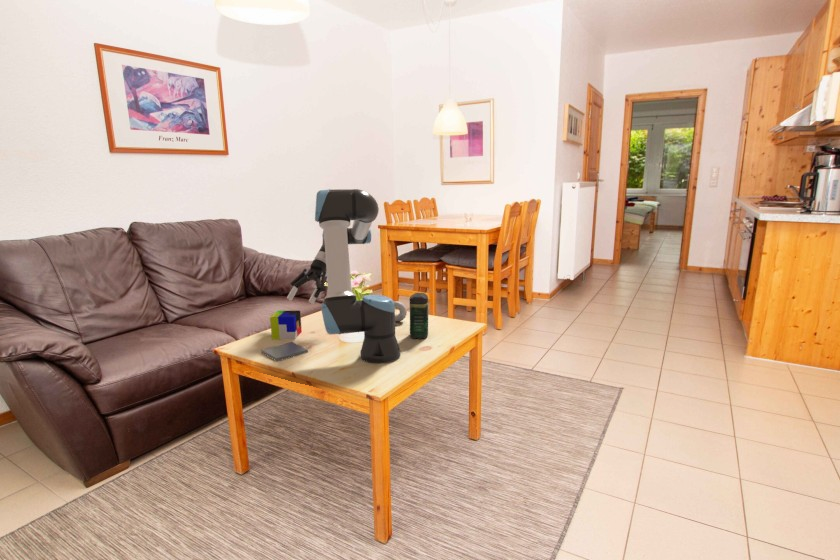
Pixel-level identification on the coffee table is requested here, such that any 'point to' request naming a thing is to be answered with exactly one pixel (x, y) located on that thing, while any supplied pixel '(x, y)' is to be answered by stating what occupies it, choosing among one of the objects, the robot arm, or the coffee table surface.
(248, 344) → the coffee table surface
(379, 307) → the robot arm
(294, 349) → the slate board
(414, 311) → the coffee jar
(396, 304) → the donut
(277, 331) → the puzzle toy
